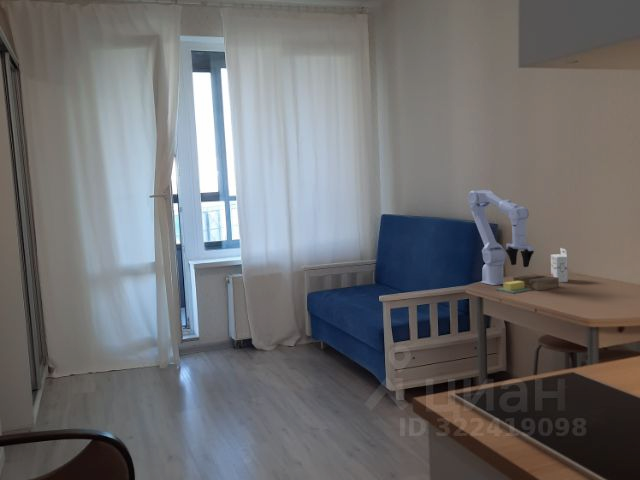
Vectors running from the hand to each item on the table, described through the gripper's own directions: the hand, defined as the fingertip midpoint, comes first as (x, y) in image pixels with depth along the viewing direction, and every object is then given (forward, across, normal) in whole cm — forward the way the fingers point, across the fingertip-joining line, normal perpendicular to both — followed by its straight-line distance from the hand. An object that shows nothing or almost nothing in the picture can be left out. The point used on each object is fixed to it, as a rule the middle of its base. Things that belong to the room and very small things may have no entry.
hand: (519, 265), depth 270 cm
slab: (+9, +2, -5) cm, 11 cm away
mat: (+10, +2, -5) cm, 11 cm away
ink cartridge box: (+10, -2, +25) cm, 27 cm away
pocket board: (+10, +2, +8) cm, 13 cm away
